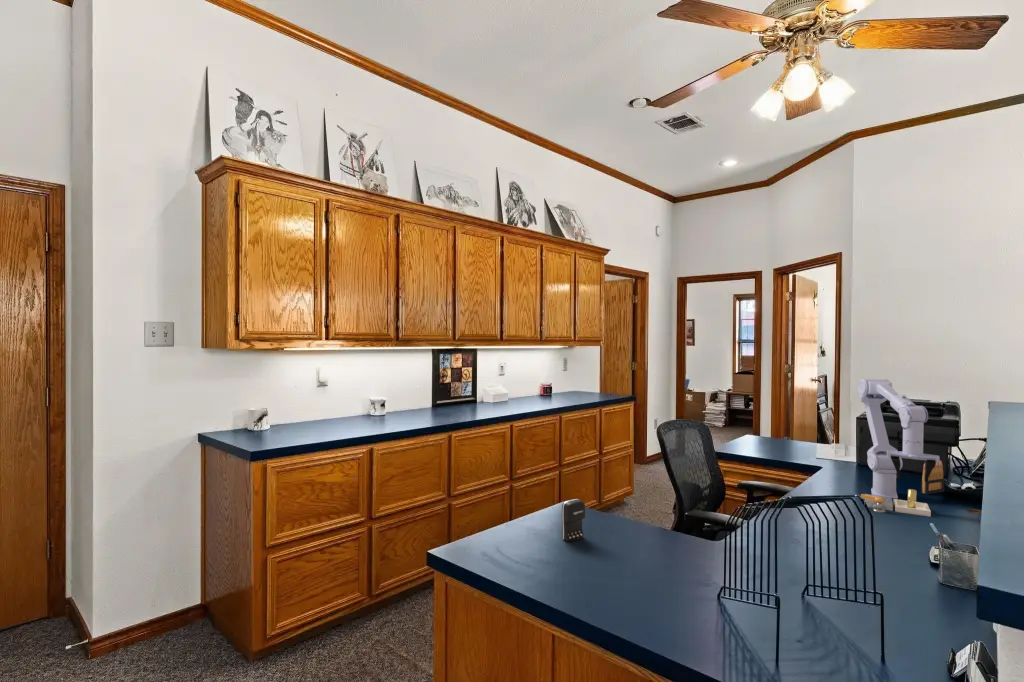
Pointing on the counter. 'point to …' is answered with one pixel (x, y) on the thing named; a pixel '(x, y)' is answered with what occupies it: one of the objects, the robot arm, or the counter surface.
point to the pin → (911, 498)
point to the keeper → (872, 498)
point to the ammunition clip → (933, 480)
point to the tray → (920, 508)
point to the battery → (572, 519)
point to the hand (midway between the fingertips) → (912, 479)
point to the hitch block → (880, 504)
